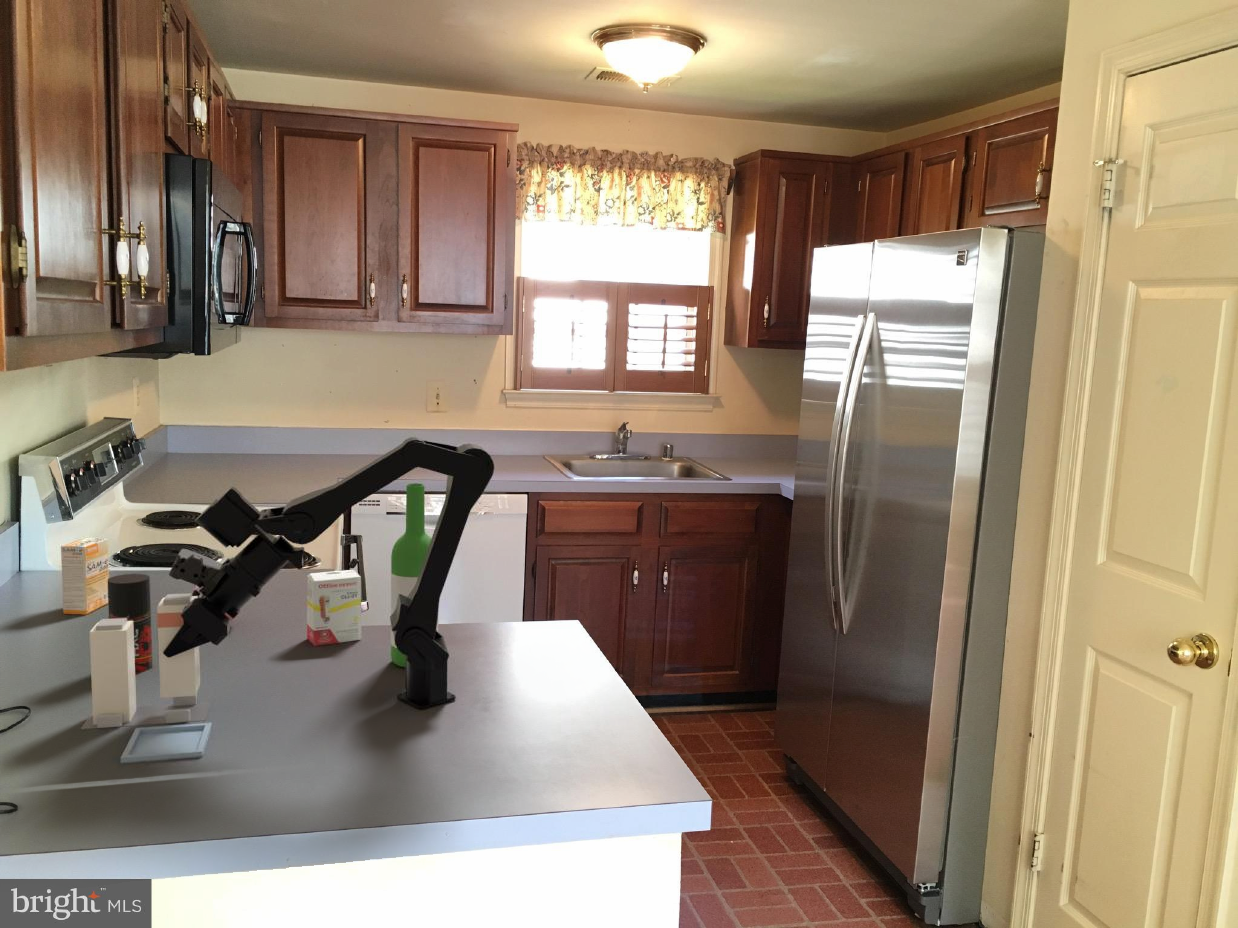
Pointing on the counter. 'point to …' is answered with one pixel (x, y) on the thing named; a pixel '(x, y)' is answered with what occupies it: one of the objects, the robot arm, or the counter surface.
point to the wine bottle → (408, 555)
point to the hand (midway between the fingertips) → (168, 649)
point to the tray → (167, 743)
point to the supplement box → (85, 575)
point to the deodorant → (133, 613)
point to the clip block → (156, 714)
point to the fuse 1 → (113, 668)
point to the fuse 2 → (182, 668)
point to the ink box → (333, 607)
